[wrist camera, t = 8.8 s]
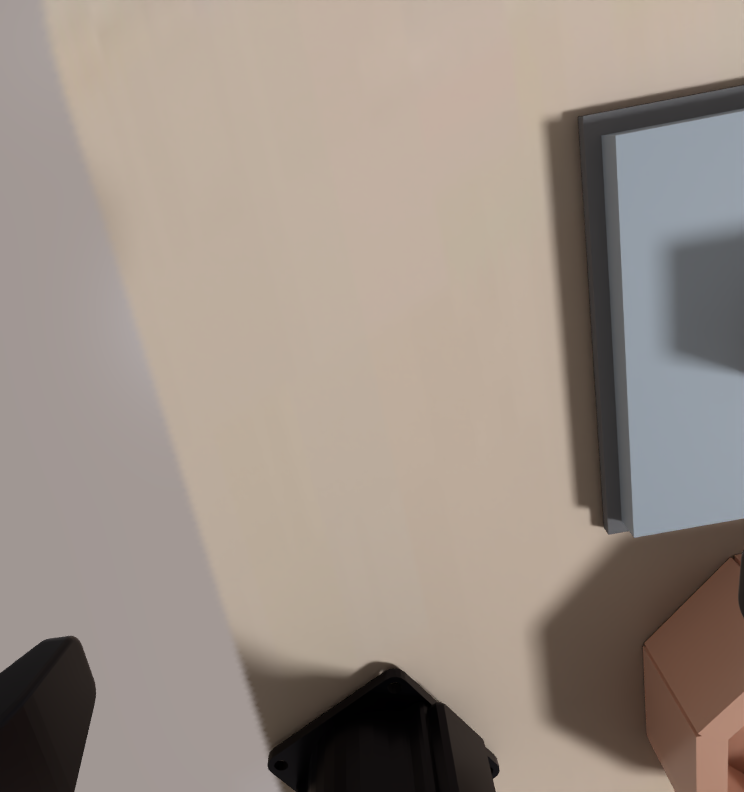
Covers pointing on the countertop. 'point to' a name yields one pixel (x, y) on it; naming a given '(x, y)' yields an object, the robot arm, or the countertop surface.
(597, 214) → the mat
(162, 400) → the countertop surface
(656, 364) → the lid
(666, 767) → the dish
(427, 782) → the robot arm
